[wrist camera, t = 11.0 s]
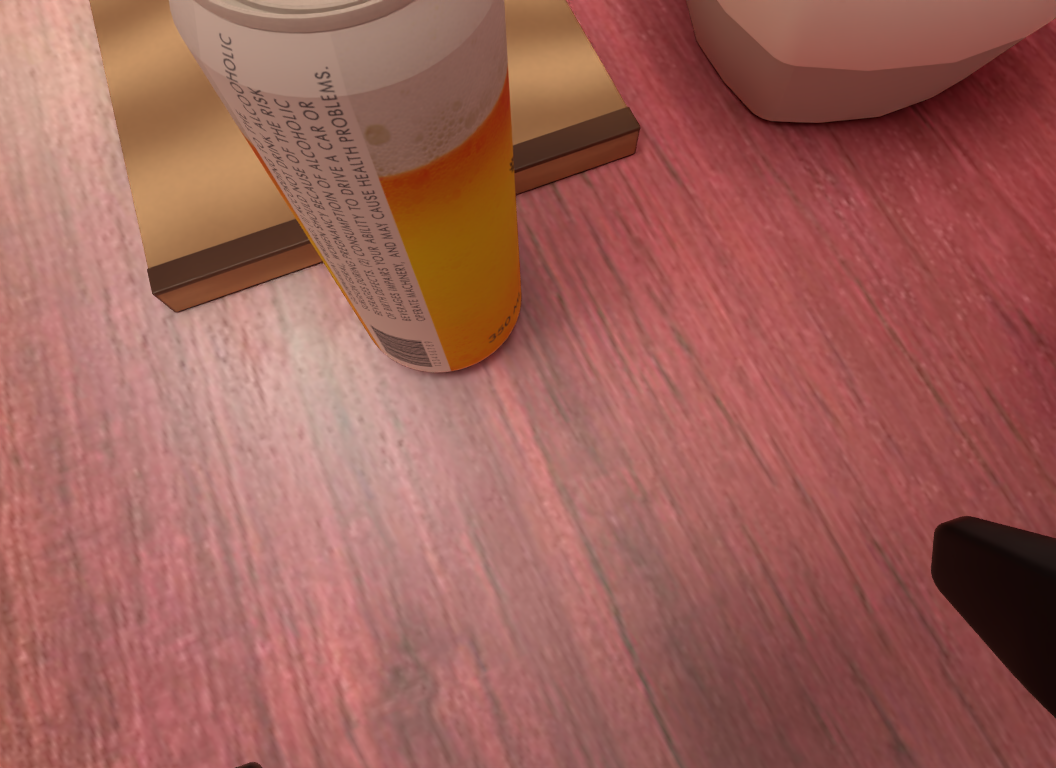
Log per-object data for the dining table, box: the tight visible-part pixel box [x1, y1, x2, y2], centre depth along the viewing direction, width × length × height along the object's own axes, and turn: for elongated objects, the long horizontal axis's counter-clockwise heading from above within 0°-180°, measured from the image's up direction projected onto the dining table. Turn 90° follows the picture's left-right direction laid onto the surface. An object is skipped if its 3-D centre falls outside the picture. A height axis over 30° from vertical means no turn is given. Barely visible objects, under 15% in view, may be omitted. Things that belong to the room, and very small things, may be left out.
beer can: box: [169, 0, 521, 372], centre depth 17 cm, size 6×6×15 cm
